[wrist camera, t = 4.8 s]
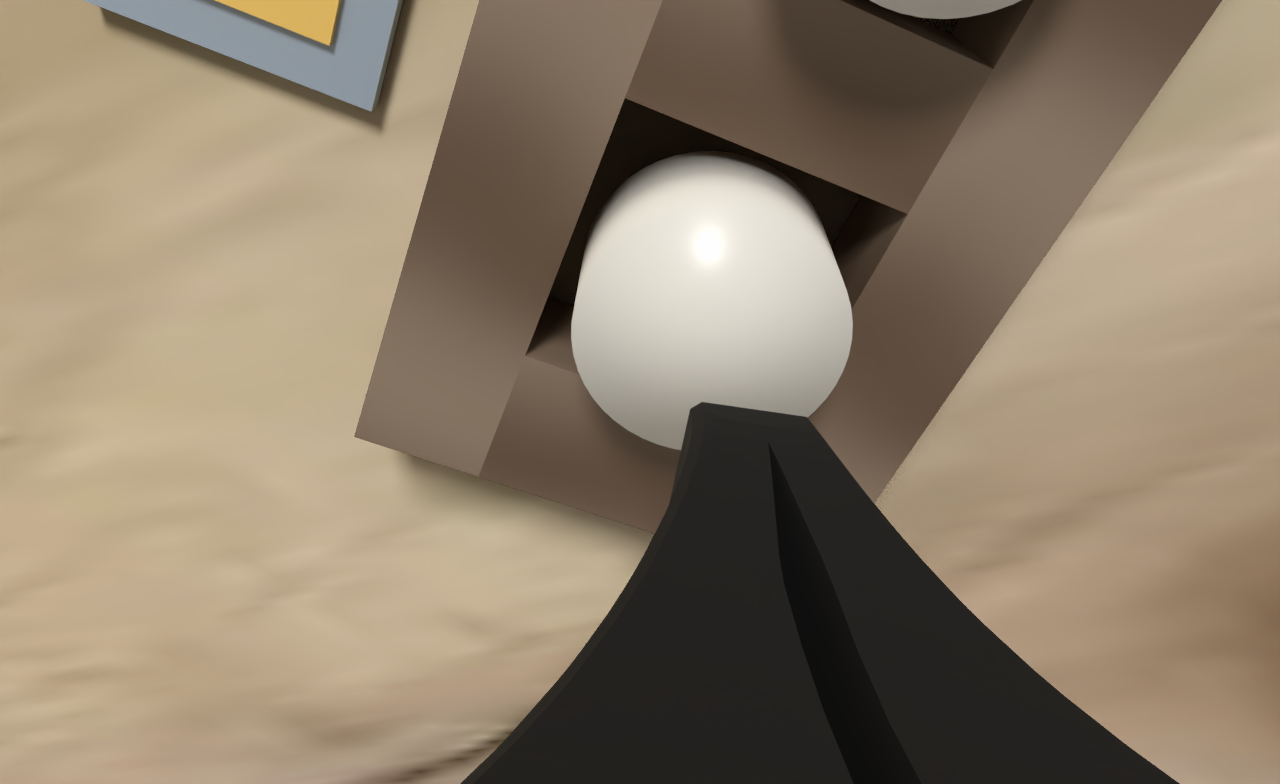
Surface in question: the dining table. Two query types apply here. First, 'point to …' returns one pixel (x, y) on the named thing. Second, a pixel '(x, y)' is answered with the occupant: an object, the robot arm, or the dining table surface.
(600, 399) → the button
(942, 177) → the button board
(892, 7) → the button
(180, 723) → the dining table surface
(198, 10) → the pattern card
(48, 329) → the dining table surface
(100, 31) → the dining table surface
